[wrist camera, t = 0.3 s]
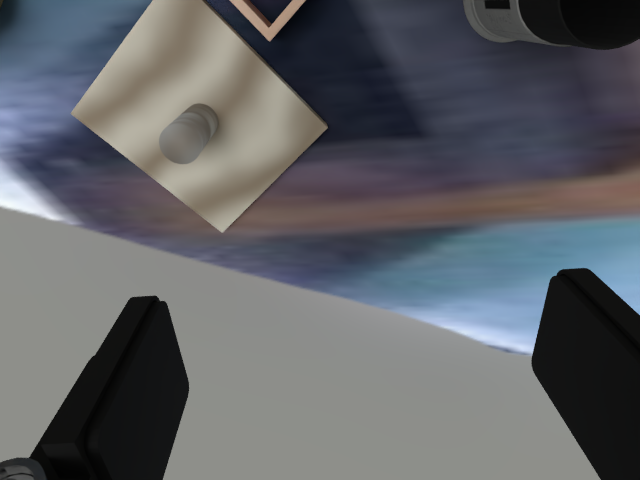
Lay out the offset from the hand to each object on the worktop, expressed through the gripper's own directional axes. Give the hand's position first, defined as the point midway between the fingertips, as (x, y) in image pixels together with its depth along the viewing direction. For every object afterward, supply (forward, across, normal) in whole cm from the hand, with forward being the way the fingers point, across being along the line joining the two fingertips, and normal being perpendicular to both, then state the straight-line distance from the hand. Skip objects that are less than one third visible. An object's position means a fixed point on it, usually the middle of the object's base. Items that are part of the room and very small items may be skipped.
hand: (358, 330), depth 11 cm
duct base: (+35, +11, +2) cm, 37 cm away
